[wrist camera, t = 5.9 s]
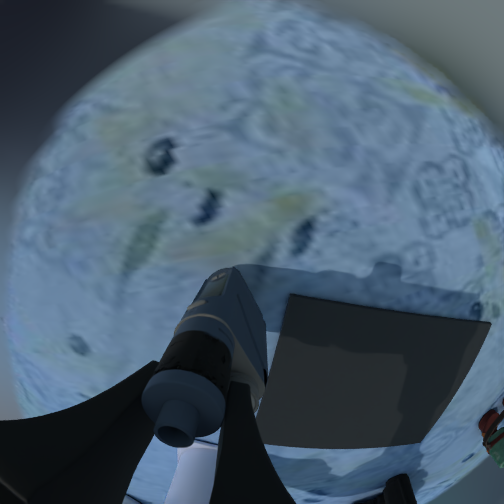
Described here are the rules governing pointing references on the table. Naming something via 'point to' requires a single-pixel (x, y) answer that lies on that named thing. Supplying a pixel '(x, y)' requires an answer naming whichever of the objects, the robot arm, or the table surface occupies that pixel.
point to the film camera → (396, 492)
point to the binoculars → (493, 435)
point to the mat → (362, 375)
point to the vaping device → (208, 361)
